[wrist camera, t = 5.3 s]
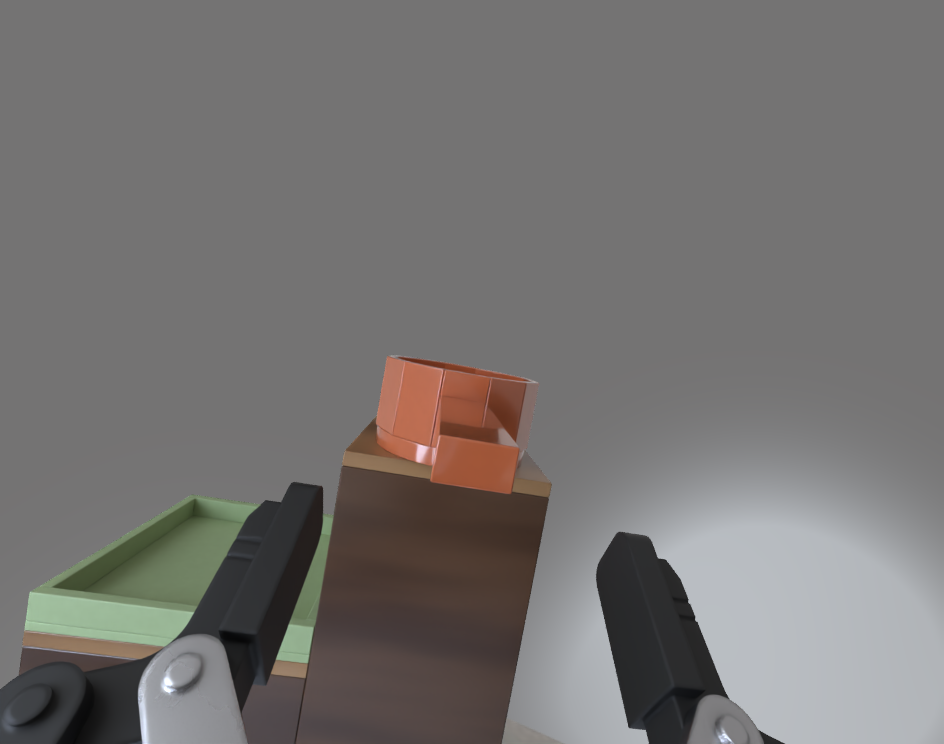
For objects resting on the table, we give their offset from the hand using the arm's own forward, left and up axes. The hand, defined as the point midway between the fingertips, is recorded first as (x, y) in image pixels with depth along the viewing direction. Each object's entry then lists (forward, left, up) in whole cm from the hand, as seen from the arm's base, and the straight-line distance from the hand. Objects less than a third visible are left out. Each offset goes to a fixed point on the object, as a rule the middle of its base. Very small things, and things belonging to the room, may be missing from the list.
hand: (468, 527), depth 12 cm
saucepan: (-2, -10, -1) cm, 10 cm away
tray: (+9, -20, -13) cm, 25 cm away
